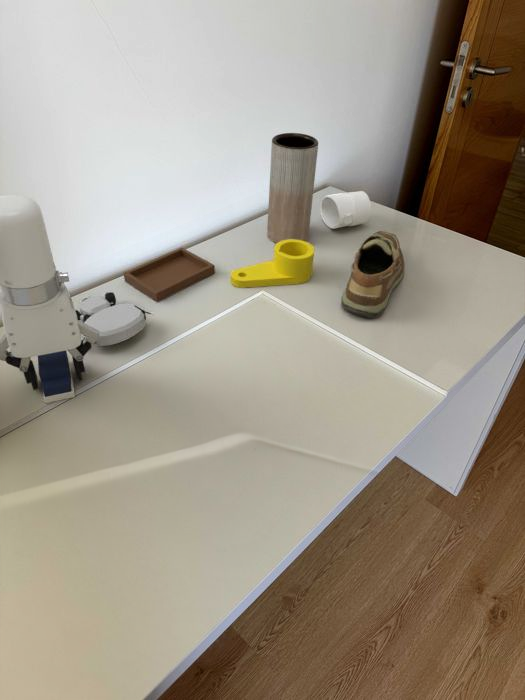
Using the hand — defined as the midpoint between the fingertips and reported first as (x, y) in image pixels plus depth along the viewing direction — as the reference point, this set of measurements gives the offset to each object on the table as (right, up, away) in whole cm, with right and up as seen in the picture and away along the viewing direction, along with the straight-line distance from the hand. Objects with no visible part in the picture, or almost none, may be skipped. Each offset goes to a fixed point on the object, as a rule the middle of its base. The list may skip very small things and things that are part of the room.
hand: (57, 378), depth 85 cm
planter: (+39, +32, +42) cm, 66 cm away
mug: (+53, +37, +49) cm, 81 cm away
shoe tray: (+14, +20, +26) cm, 35 cm away
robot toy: (+5, +9, +12) cm, 15 cm away
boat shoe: (+57, +19, +27) cm, 66 cm away
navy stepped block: (0, 0, 0) cm, 1 cm away
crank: (+35, +20, +28) cm, 49 cm away
